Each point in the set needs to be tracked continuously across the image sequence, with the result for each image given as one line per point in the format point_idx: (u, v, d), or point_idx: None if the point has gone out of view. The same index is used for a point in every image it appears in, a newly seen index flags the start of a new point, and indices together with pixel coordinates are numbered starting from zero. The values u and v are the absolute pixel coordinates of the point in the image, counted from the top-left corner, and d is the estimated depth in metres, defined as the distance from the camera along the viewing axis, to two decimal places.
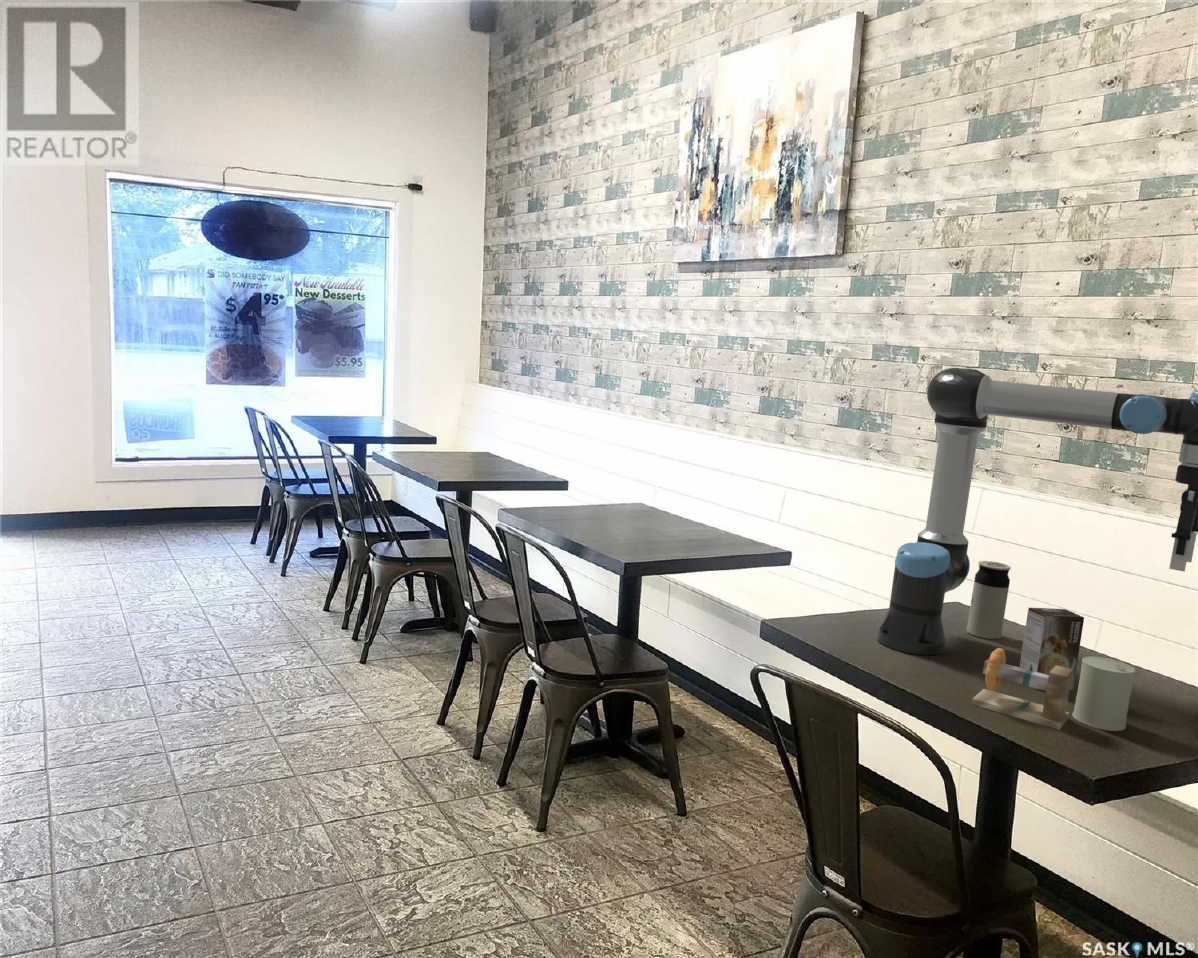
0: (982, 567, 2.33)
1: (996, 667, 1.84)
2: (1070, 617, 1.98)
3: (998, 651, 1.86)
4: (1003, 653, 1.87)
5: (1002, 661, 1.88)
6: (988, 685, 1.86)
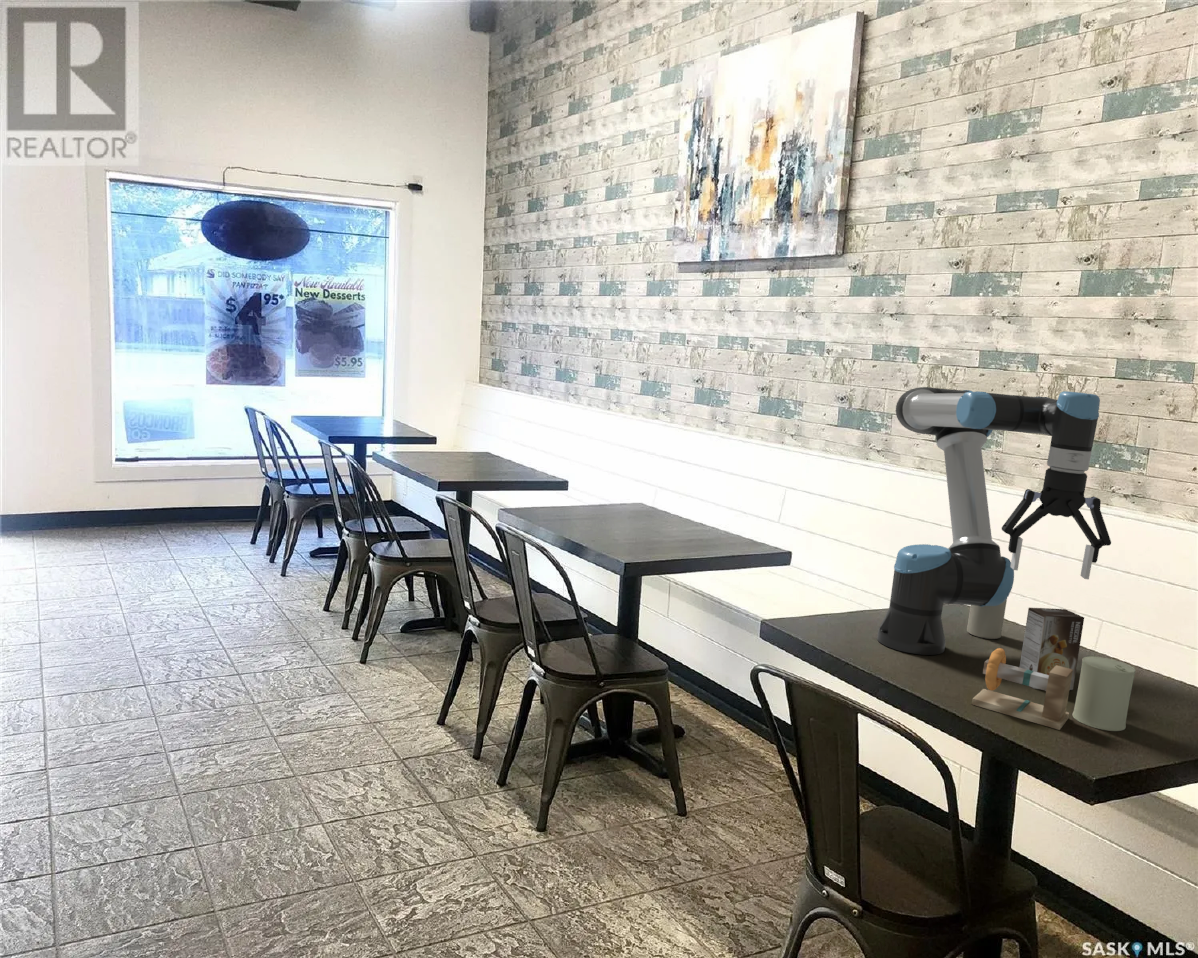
0: None
1: (996, 667, 1.84)
2: (1070, 617, 1.98)
3: (998, 651, 1.86)
4: (1003, 653, 1.87)
5: (1002, 661, 1.88)
6: (988, 685, 1.86)
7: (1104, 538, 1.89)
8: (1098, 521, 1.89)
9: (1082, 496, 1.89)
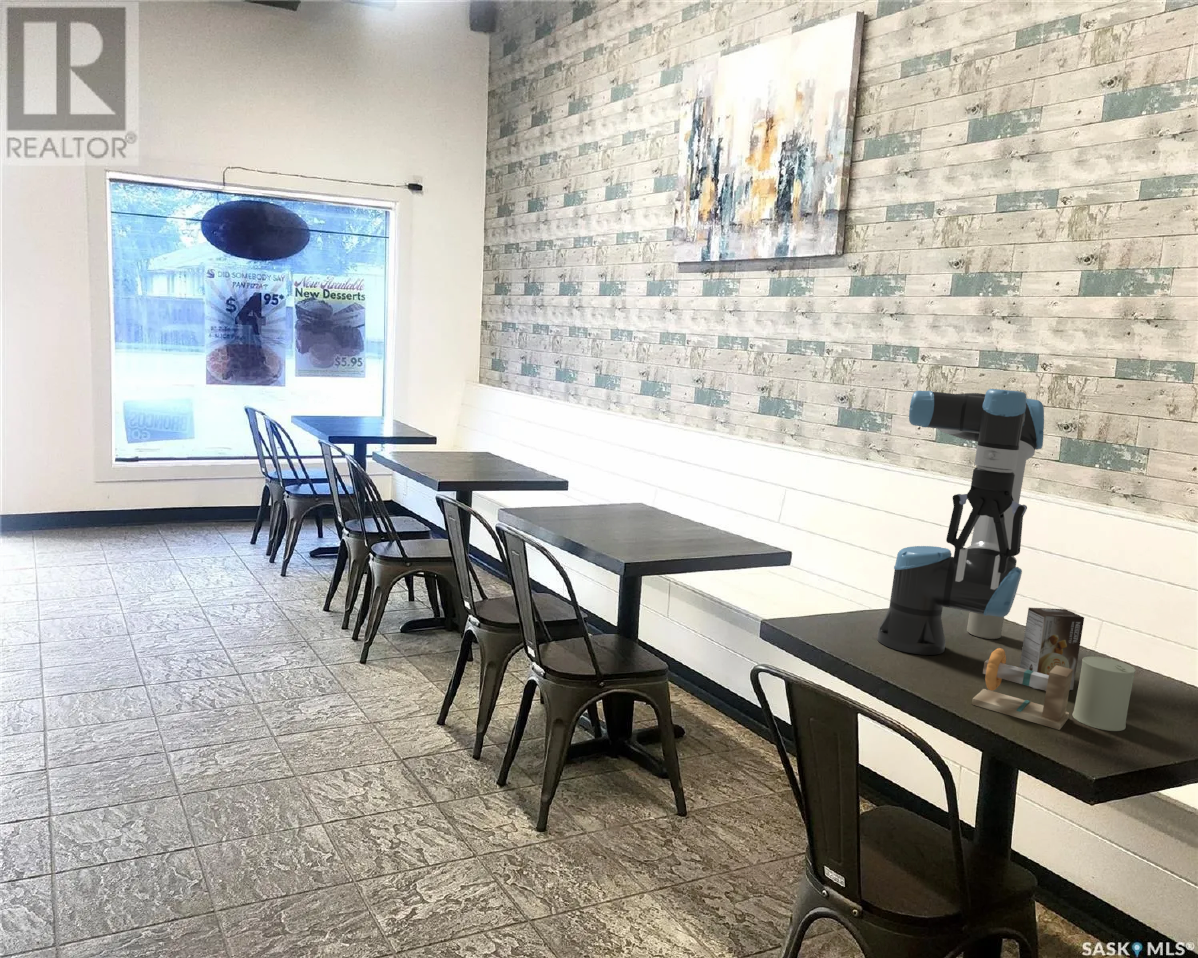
0: None
1: (996, 667, 1.84)
2: (1070, 617, 1.98)
3: (998, 651, 1.86)
4: (1003, 653, 1.87)
5: (1002, 661, 1.88)
6: (988, 685, 1.86)
7: (1012, 547, 1.83)
8: (1013, 528, 1.83)
9: (1007, 496, 1.83)
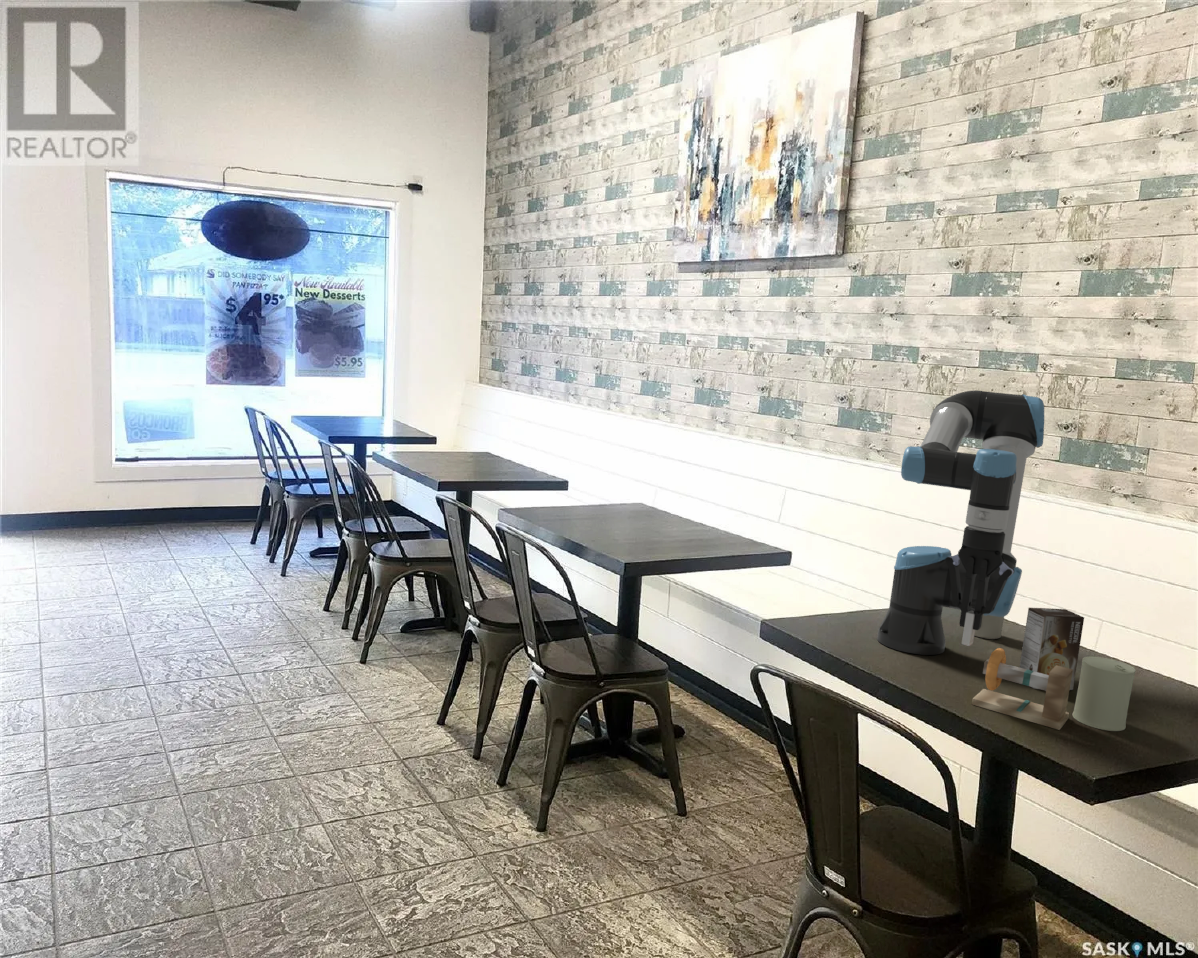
0: None
1: (996, 667, 1.84)
2: (1070, 617, 1.98)
3: (998, 651, 1.86)
4: (1003, 653, 1.87)
5: (1002, 661, 1.88)
6: (988, 685, 1.86)
7: (987, 605, 1.86)
8: (995, 588, 1.85)
9: (997, 556, 1.85)
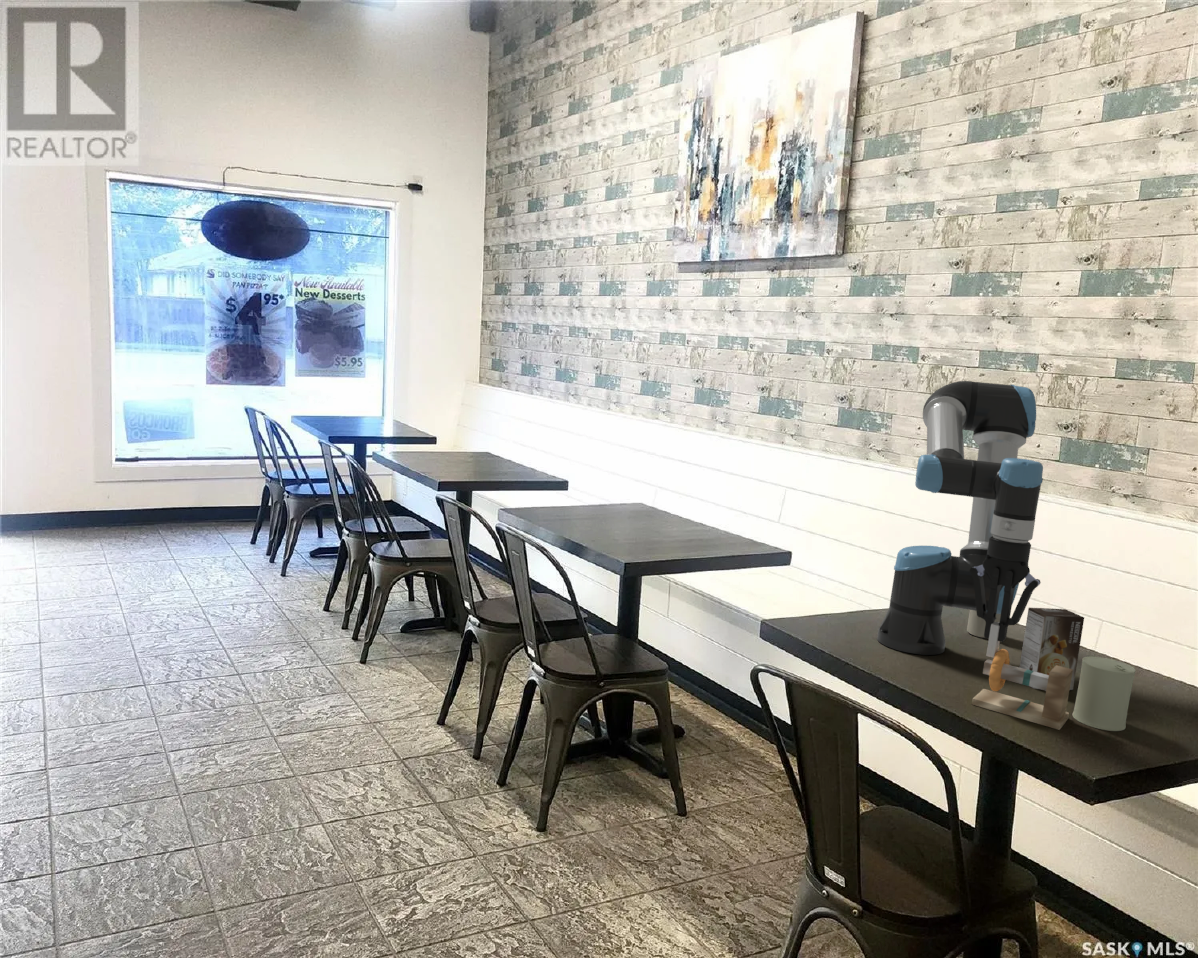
0: None
1: (1000, 668, 1.84)
2: (1070, 617, 1.98)
3: (1002, 652, 1.85)
4: (1007, 654, 1.86)
5: (1006, 662, 1.88)
6: (992, 686, 1.85)
7: (1013, 616, 1.84)
8: (1020, 599, 1.83)
9: (1023, 567, 1.82)
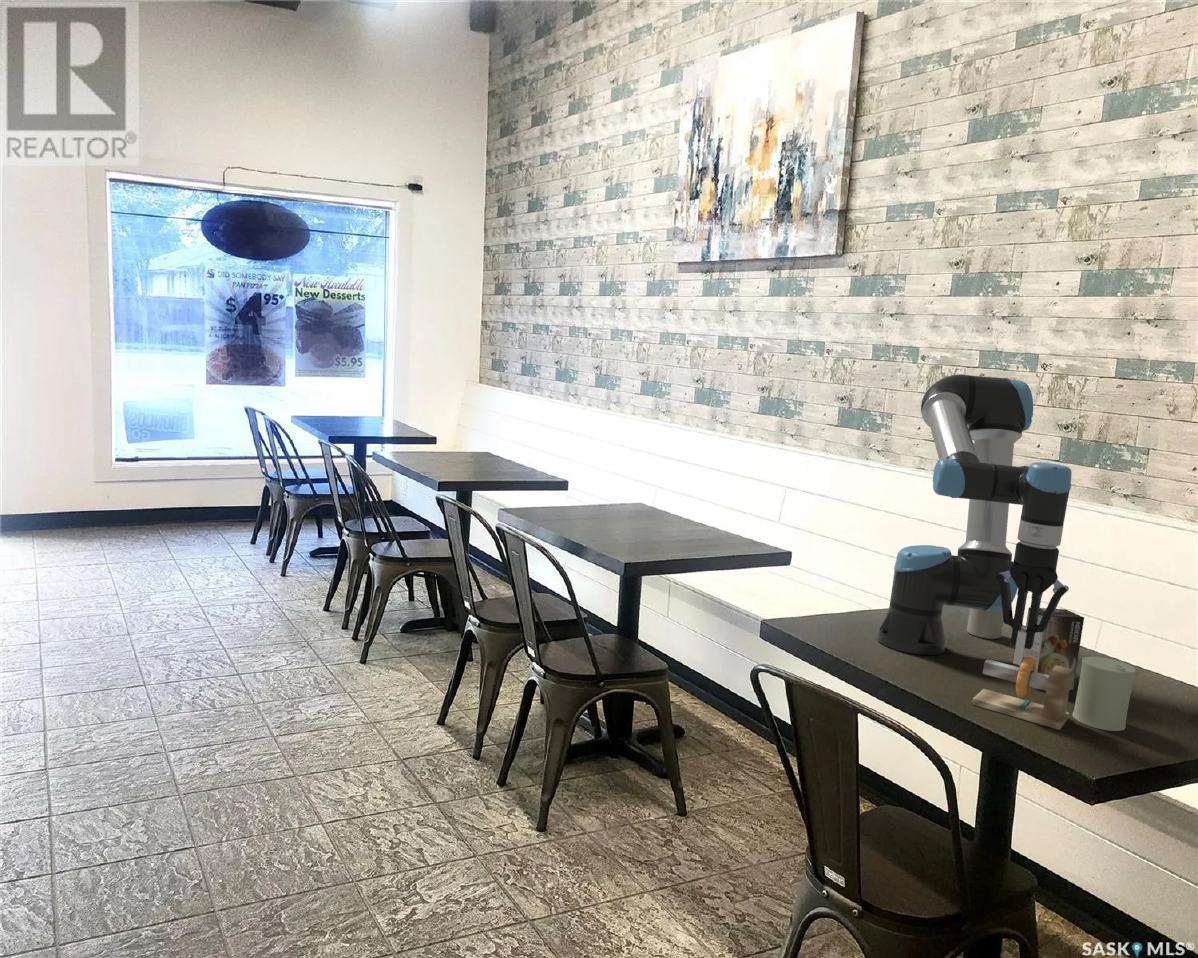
0: None
1: (1027, 675, 1.81)
2: (1070, 617, 1.98)
3: (1029, 659, 1.83)
4: (1034, 661, 1.83)
5: (1032, 669, 1.85)
6: (1019, 694, 1.82)
7: (1041, 623, 1.81)
8: (1048, 606, 1.80)
9: (1051, 573, 1.79)
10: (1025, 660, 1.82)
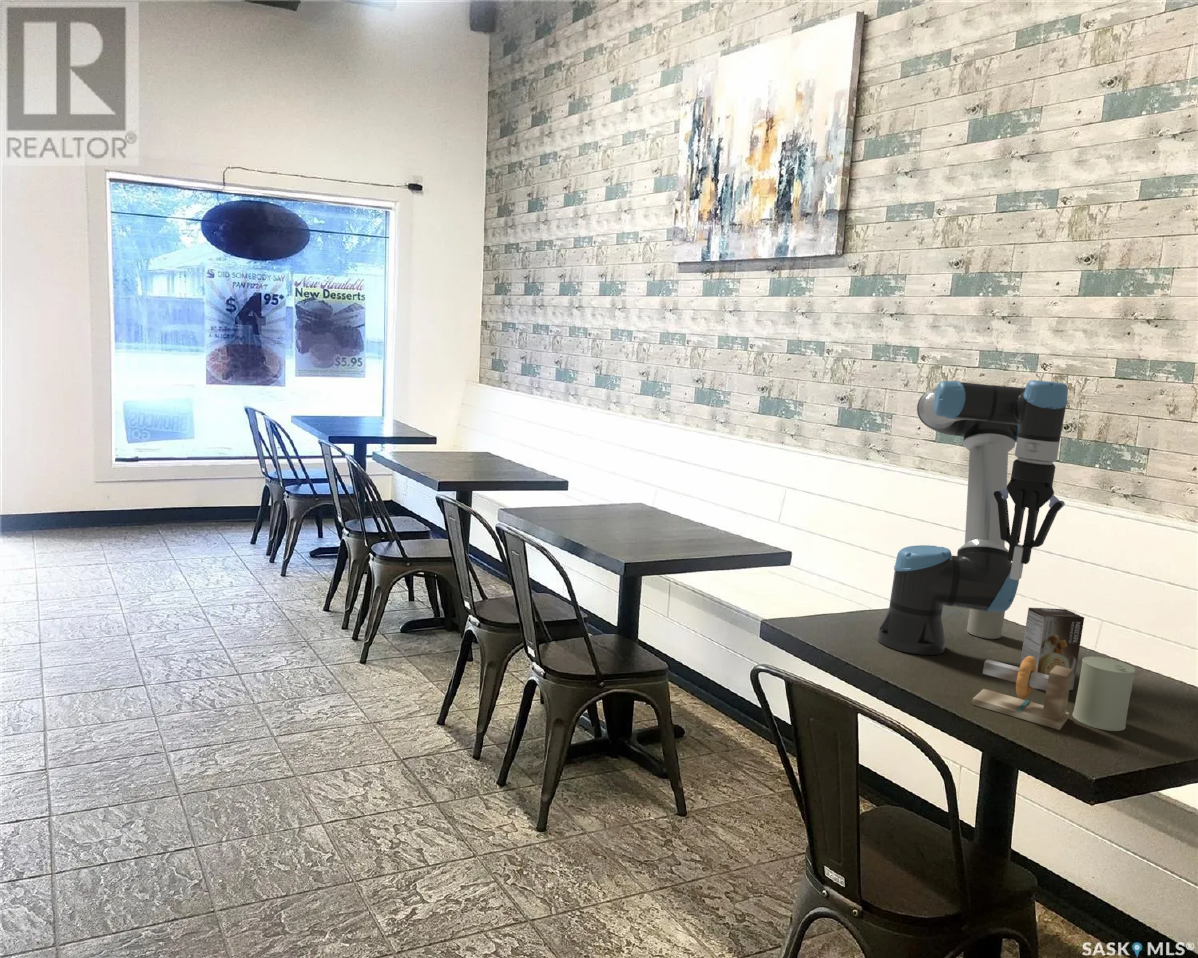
0: None
1: (1027, 675, 1.81)
2: (1070, 617, 1.98)
3: (1029, 659, 1.83)
4: (1034, 661, 1.83)
5: (1033, 669, 1.85)
6: (1019, 694, 1.82)
7: (1037, 538, 1.84)
8: (1044, 521, 1.83)
9: (1047, 488, 1.83)
10: (1025, 660, 1.82)
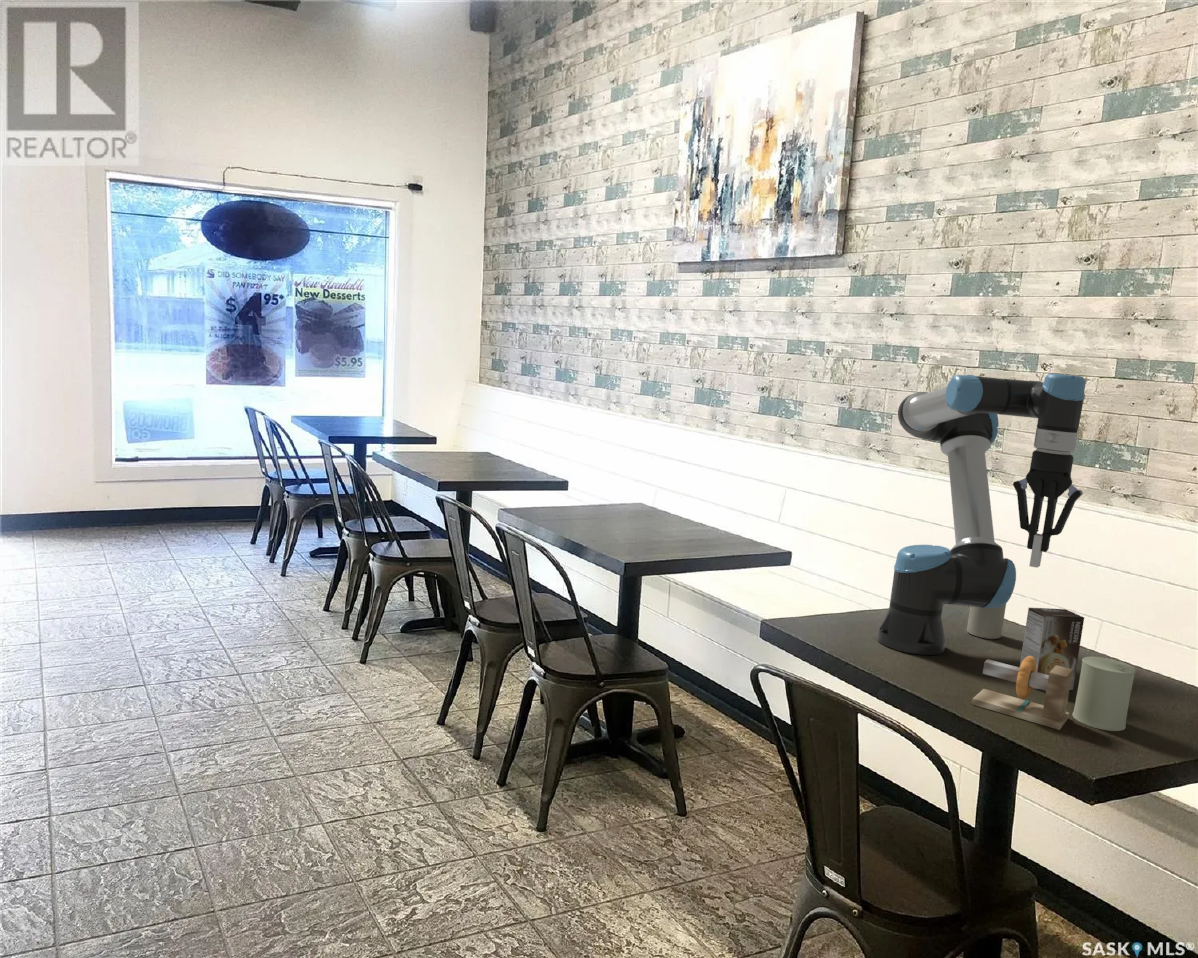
0: None
1: (1027, 675, 1.81)
2: (1070, 617, 1.98)
3: (1029, 659, 1.83)
4: (1034, 661, 1.83)
5: (1033, 669, 1.85)
6: (1019, 694, 1.82)
7: (1056, 526, 1.90)
8: (1063, 510, 1.89)
9: (1066, 478, 1.89)
10: (1025, 660, 1.82)
